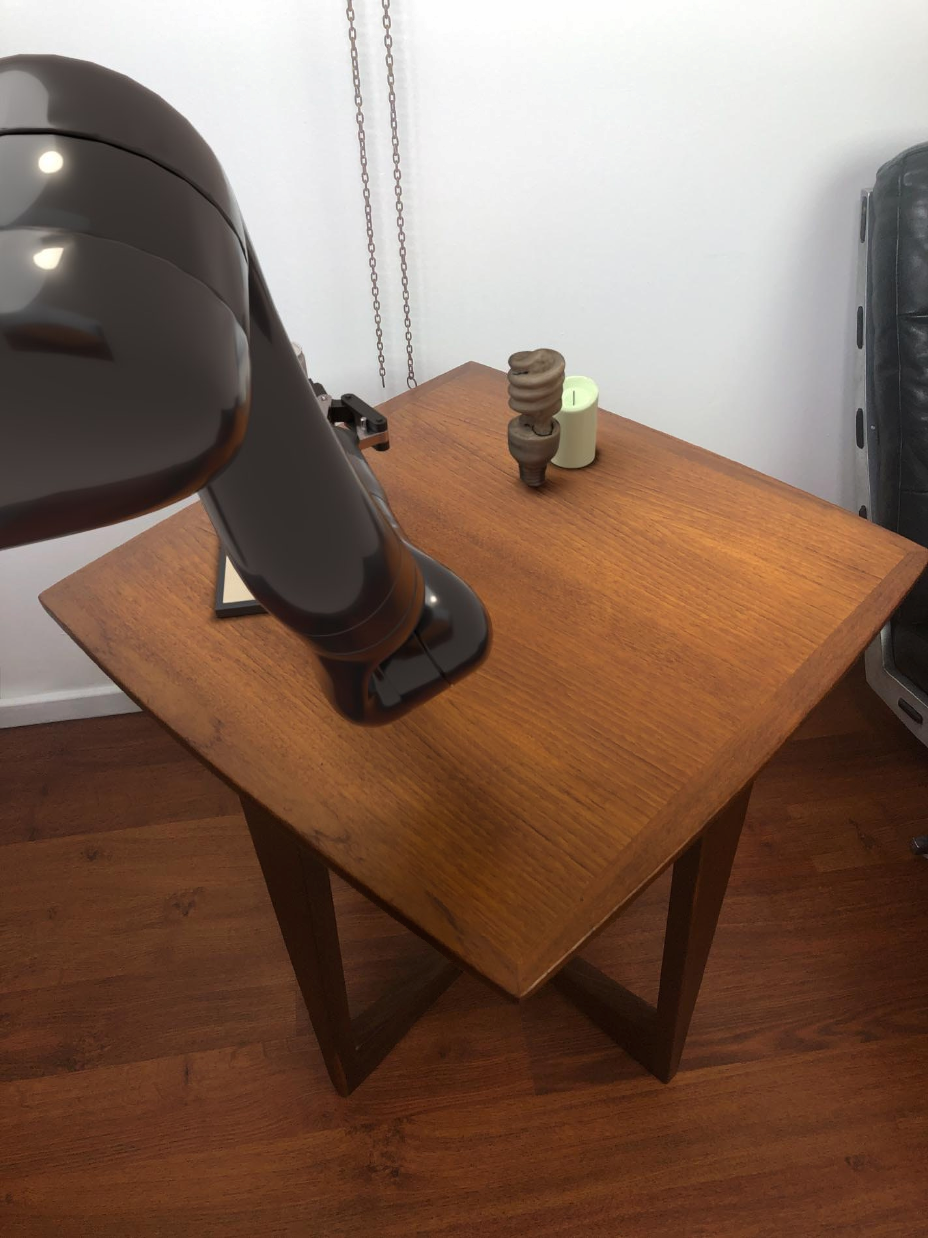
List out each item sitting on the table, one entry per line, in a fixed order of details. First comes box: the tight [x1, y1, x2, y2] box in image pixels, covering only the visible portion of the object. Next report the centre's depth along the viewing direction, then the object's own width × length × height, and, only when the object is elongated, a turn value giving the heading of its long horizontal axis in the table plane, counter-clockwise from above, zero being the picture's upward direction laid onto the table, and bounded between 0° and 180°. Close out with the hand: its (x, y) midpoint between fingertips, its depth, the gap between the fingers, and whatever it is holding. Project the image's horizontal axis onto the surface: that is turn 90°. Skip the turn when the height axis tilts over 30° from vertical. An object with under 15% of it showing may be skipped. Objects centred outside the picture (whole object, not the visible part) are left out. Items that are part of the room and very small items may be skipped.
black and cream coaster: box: [214, 544, 268, 619], centre depth 90 cm, size 13×13×1 cm
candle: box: [550, 375, 600, 469], centre depth 100 cm, size 5×5×8 cm
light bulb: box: [506, 347, 566, 488], centre depth 94 cm, size 6×6×15 cm
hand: (275, 395), depth 80 cm, fingers closed on beverage can, 5 cm apart
